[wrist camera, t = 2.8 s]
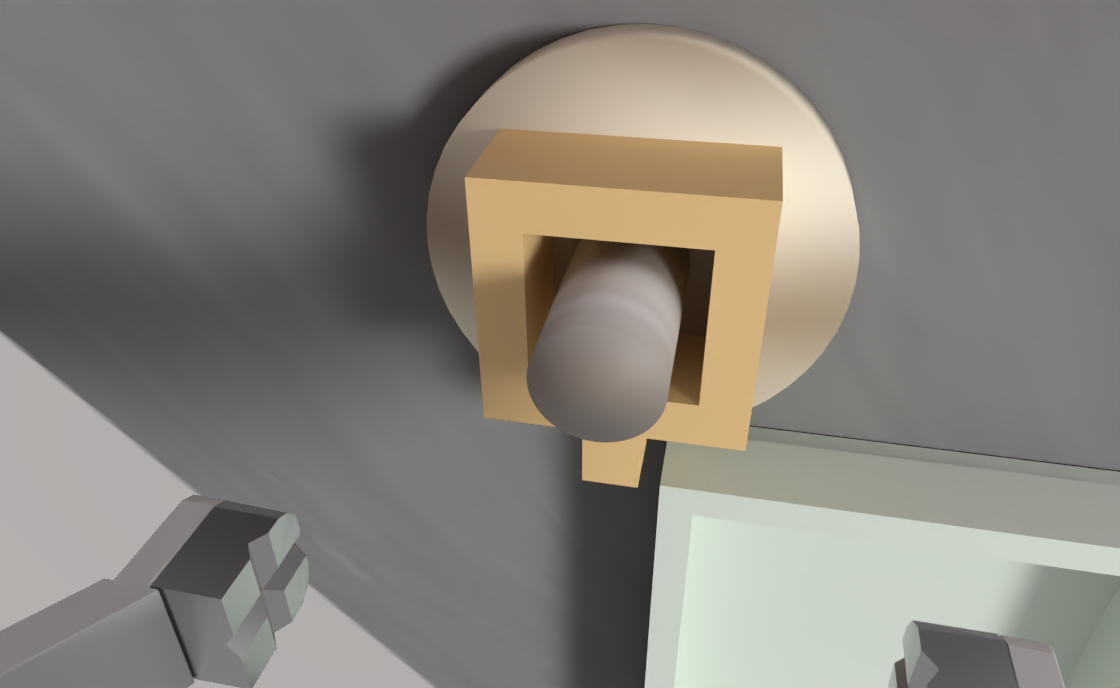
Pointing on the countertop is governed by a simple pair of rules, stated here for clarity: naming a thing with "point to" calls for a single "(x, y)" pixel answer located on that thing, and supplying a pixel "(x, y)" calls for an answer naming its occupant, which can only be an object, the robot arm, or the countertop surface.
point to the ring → (631, 217)
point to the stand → (650, 270)
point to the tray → (873, 560)
